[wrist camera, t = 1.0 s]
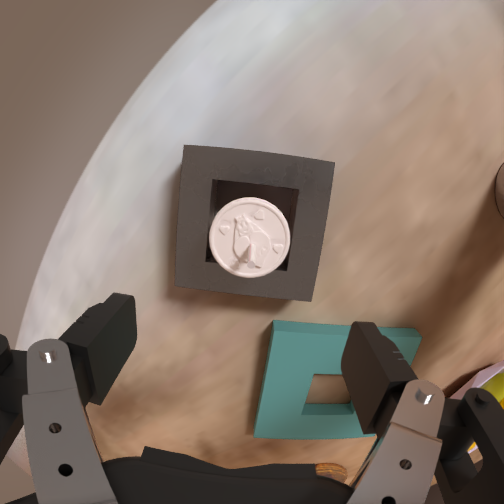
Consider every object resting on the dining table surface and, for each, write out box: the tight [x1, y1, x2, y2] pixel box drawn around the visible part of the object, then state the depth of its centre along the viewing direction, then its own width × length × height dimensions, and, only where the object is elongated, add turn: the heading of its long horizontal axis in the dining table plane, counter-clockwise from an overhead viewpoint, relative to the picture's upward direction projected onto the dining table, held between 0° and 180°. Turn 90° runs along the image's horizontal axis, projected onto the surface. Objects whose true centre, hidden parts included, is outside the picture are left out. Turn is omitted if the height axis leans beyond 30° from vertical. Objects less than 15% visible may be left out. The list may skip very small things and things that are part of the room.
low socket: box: [254, 320, 422, 439], centre depth 38 cm, size 20×20×2 cm
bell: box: [315, 463, 347, 483], centre depth 44 cm, size 12×12×7 cm
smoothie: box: [209, 197, 290, 278], centre depth 26 cm, size 6×6×14 cm
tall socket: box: [175, 145, 335, 302], centre depth 31 cm, size 14×14×4 cm
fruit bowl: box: [450, 360, 504, 453], centre depth 36 cm, size 28×27×11 cm
